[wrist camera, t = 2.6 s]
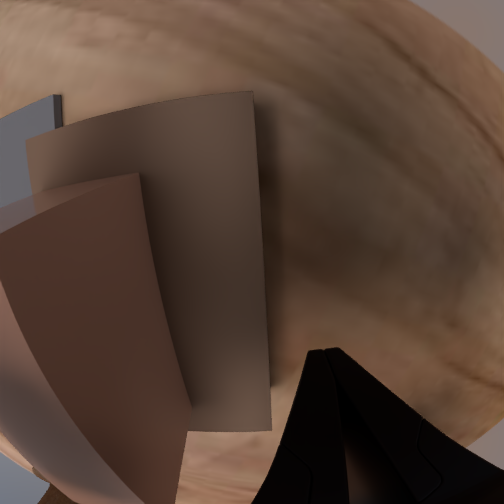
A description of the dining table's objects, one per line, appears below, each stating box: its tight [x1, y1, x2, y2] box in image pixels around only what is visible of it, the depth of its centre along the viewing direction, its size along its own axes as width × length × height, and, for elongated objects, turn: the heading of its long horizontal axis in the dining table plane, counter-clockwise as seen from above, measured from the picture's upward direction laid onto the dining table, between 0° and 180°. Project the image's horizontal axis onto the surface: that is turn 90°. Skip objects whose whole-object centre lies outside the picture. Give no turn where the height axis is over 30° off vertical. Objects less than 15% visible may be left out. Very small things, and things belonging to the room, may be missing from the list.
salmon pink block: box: [0, 173, 192, 504], centre depth 7 cm, size 4×10×6 cm, turn 4°
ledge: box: [25, 91, 272, 432], centre depth 11 cm, size 8×14×3 cm, turn 4°
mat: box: [0, 94, 62, 208], centre depth 13 cm, size 11×18×1 cm, turn 4°
